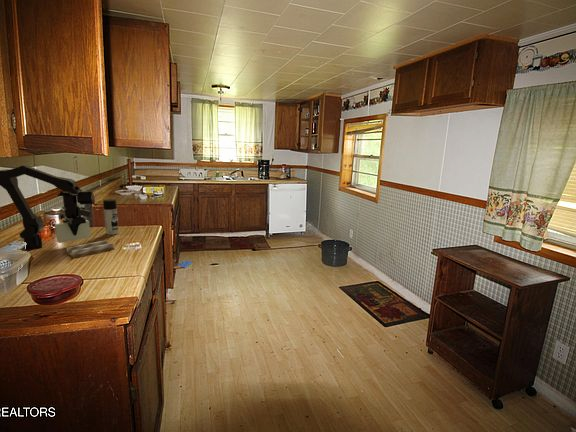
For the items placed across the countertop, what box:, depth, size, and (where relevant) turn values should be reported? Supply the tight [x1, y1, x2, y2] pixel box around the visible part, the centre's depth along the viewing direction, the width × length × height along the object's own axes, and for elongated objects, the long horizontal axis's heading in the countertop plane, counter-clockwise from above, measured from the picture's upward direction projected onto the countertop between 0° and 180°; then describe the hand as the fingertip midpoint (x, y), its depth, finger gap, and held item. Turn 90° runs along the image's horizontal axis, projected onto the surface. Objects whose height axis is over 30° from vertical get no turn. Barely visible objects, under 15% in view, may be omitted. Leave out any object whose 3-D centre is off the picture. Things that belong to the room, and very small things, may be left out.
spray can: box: [102, 198, 120, 236], centre depth 184 cm, size 7×7×20 cm
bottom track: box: [65, 239, 115, 259], centre depth 154 cm, size 18×9×3 cm, turn 142°
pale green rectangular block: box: [54, 219, 91, 244], centre depth 160 cm, size 14×4×9 cm, turn 142°
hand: (73, 234), depth 161 cm, fingers closed on pale green rectangular block, 3 cm apart
